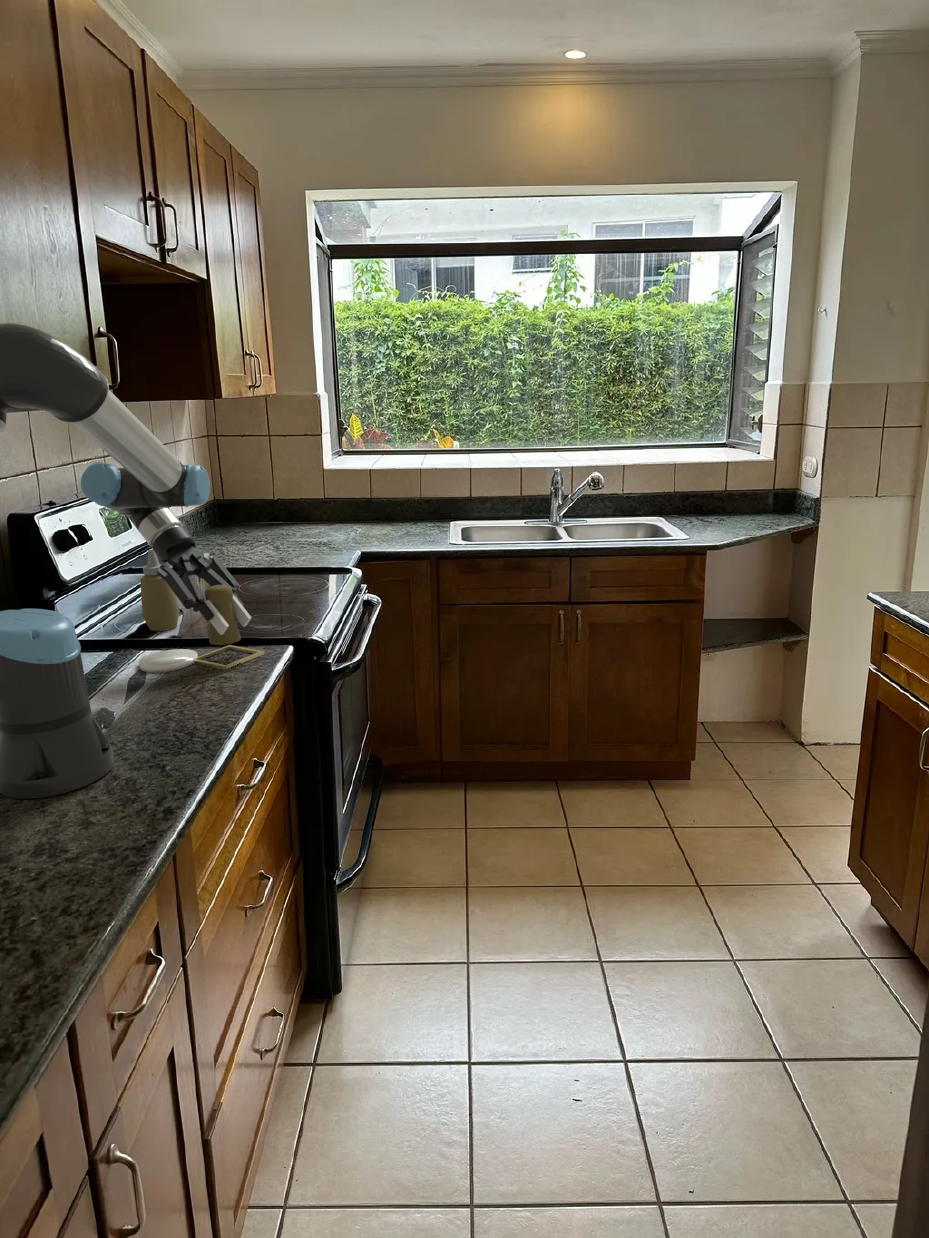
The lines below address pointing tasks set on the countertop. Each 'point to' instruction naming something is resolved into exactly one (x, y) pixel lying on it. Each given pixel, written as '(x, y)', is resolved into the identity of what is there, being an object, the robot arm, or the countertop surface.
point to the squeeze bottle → (157, 598)
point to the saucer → (168, 660)
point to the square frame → (255, 654)
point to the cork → (222, 603)
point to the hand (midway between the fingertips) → (236, 626)
